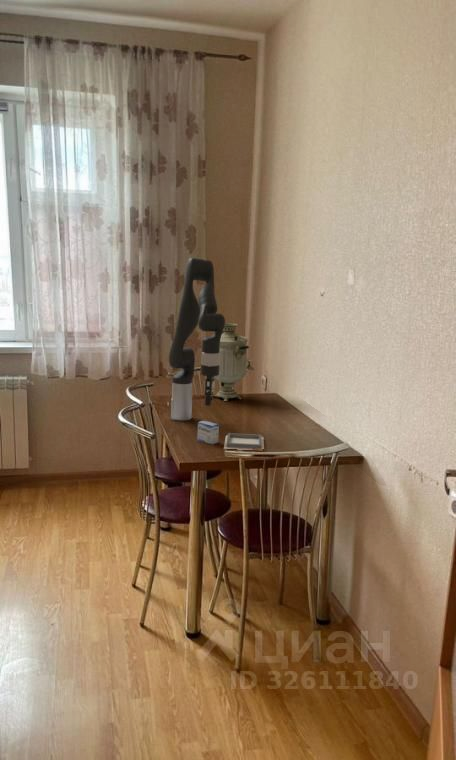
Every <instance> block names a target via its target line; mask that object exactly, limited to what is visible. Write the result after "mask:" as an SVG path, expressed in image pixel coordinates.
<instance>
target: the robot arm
mask: <svg viewBox="0 0 456 760" xmlns="http://www.w3.org/2000/svg"><path fill="white" fill-rule="evenodd" d="M184 277H185V278H184V282H183V283H184V285H183V291H182V298H181V302H180V306H179V311H178V316H177V322H176V327H175V332H174V337H173V340H172V343H171V347H170V350H169V354H168V363H169V365H170V368H172V369H180V370H179V371H178V372H177V373H175V374H174V375H172V378H171V381H172V382H171V398H170V400H171V401H170V404H171V405H170V420H174V421H189V420H191V419H192V412H193V411H192V409H193V407H192V405H193V378H194V375H195V363H196V358H195V357H196V356H195V351H194V350H193V348H191V347H185V345H186V342H187V340H188V339H189V337H190V336H191V334H192V333H194V331H195V330H196V328H197V327H198V328H199V330H201V331H202V332H214V333H213V334H212V335H210V336H205V337H203V339H202V340H201V341H202V342H201V357H200V375H202V376H203V377H205V378H204V381H203V382H204V383H203V384H204V397H205V401H204V404H205V406H206V407H207V406H209V407H210V406H211V405H212V401H213V396H214V393H213V392H214V388H215V382H216V379H215V378H214V376H218V375H219V366H220V355H219V350H220V339H221V335H222V332H223V329H224V326H225V323H226V319H225V316H224V315H223V314H221V313H217V312H218V303H217V298H216V294H215V269H214V265H213V262H212V261H211V260H209V259H204V258H199V257H197V258H196V257H191V258H189V259H188V261H187V264H186V268H185V276H184ZM194 281H201V282H205V285H204V286H203V288H202V289H201V290H200V292H199V294H198V299H197V296H196V294H195V290H194Z"/></svg>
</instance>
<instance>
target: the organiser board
mask: <svg viewBox="0 0 456 760" xmlns="http://www.w3.org/2000/svg"><path fill="white" fill-rule="evenodd" d="M264 441H265V439H264V436H262V434H254V433H233V432H232V433H231V432H228V433H227V435H225V440H224V444H223V445H224V447H223V450H226V449H237V450H236V451H242V450H253V449H252V448H258V449H264V450H265V445H264V444H265V442H264Z"/></svg>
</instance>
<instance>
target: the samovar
mask: <svg viewBox="0 0 456 760" xmlns="http://www.w3.org/2000/svg"><path fill="white" fill-rule="evenodd" d="M237 326H238V324H237V323H231V322H230V323H226V322H225V326H224V329H223V332H222V335H221V339H220V350H219V355H220V366H219V375H218V376H214V379H215V381H218V382H220V386H221V387H222V389H220V390H219V391H217V393H216V394H215V395H214V394H213V396H217V397H219V398H222V399H223V402H224V401H228V400H229V399H230V398H231V399H233V398H237V399H239V400H242V397H240V396H239V395H238V392H236V390H235V389H233V388H234V387H235V383H237V382H239V381H241V380H243V378H245V377H246V375H247V371H248V370H251V371H252V370H255V369H254V367H253V366H252V365H251V362H254V361H253V359H250V358H249V359H248V350H249V348H250V346H249V345H247V343H248V340H249V339H248V337H246V336H243V335H239V334H238V333H236V329H237ZM247 364H248V365H247ZM247 369H248V370H247ZM228 402H229V401H228Z"/></svg>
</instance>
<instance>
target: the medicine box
mask: <svg viewBox="0 0 456 760" xmlns="http://www.w3.org/2000/svg"><path fill="white" fill-rule="evenodd" d="M219 428H220V424H219V423H215V422H211V421H208V420H201V421H199V422H197V438H196V439H197V440H196V441H198V442H202V443H205V444H209V445H215V444H217V443H219V435H220V434H219V433H220V431H219Z"/></svg>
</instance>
